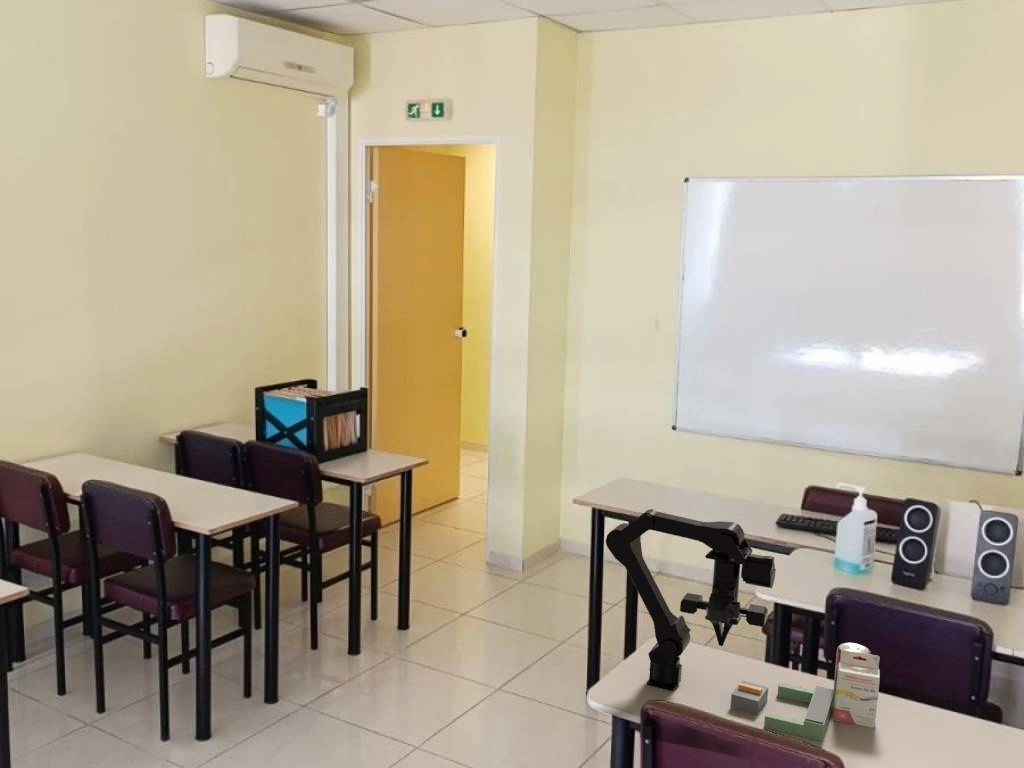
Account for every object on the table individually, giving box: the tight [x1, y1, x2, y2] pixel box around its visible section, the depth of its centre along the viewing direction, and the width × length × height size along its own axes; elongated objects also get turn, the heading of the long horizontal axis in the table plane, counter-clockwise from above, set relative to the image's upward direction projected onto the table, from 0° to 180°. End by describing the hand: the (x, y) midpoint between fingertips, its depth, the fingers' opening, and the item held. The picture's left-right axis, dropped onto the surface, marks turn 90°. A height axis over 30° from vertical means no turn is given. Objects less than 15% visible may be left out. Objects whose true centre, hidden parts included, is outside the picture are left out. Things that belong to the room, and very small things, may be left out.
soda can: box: [833, 642, 872, 697], centre depth 220 cm, size 7×7×12 cm
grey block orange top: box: [730, 680, 769, 716], centre depth 216 cm, size 6×8×4 cm
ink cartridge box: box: [833, 650, 881, 729], centre depth 210 cm, size 9×5×15 cm, turn 71°
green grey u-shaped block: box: [763, 682, 835, 742], centre depth 212 cm, size 12×18×4 cm, turn 155°
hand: (721, 645), depth 218 cm, fingers closed
